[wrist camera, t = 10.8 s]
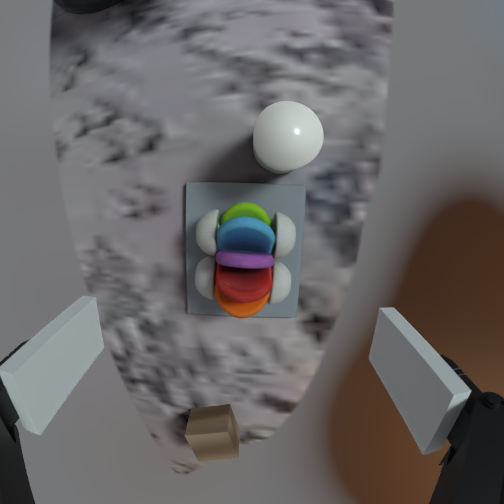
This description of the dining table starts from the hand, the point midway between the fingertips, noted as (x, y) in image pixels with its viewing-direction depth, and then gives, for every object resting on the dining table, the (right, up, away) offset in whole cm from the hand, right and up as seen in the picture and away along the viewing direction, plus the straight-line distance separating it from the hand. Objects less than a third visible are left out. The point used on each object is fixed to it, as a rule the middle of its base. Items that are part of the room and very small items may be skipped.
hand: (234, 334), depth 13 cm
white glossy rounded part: (+3, +13, +14) cm, 20 cm away
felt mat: (0, +4, +17) cm, 17 cm away
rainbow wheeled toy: (0, +4, +16) cm, 17 cm away
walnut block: (-4, -18, +22) cm, 28 cm away
